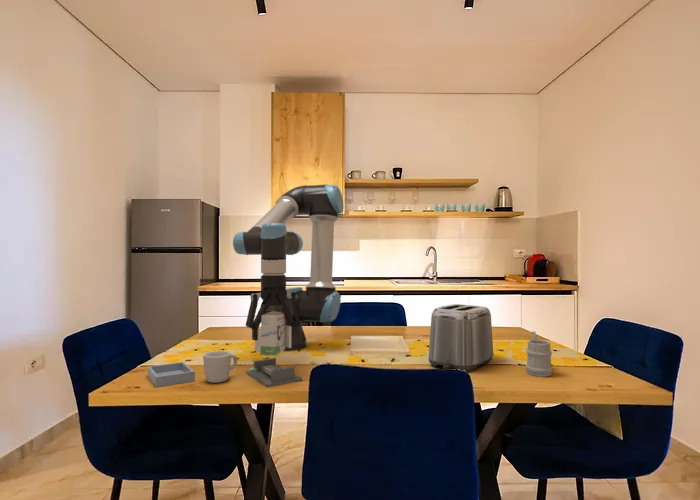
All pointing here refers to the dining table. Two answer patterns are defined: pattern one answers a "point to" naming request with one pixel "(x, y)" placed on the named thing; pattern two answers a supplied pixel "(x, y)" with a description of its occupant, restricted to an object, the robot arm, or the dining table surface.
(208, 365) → the cup
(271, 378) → the cradle
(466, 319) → the toaster
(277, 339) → the ink box
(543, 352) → the mug
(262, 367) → the checker pad
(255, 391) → the dining table surface
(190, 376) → the trough
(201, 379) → the dining table surface
